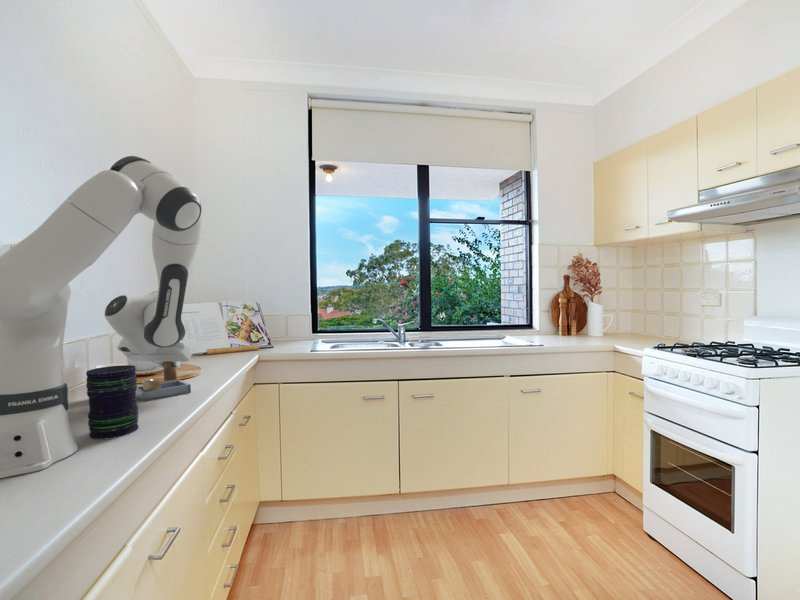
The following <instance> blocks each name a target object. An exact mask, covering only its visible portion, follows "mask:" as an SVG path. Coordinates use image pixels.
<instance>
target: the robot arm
mask: <svg viewBox="0 0 800 600" xmlns="http://www.w3.org/2000/svg"><path fill="white" fill-rule="evenodd" d="M138 214H142V215H144V216H145V217H147V218H148V219H150V220H152V221H154V222H153V227H152V233H151V234H152V235H151V248H152V255H153V261H154V265H155V271H156V275H157V281H158V284H157V285H158V290H156V291H153V292H150V293H148V294H143V295H138V296H137V295H135V296H132V295H126V294H125V295H124V294H122V295H119V296H117V297H115V298H113V299H112V300H110V302H109V303H107V305H106V307H105V310H104V319H105V320H106V321H107V323H108V324H109V325H110V327H111V328H112V329H113V330H114V331H115V332H116V333H117V334H118V335H119V336H120V337H121V340H120V342H119V344H118V345H117V347H116V349H117V350H118V351H119V352H121V353H122V354H123V355H124V356H125V358H127V359H128V360H130V361H132V362H133V363H134V362H135V363H138V362H139V363H140V362H150V363H152V364H154V365H156V366H158V367H159V368H163V361H172V362H174V363H173V364H172V365H173V366H174V367H176V368H180V366H181V365H182V364H181V362H188V361H190V359H191V357H192V355H193V350H192V348H190V346H188V345H187V344H186V343H185V342H184V341H182V340H183V339H184V338H185V336H186V329H185V325H184V321H183V315H182V314H183V309H184V308H183V307H184V301H185V295H186V289H187V283H188V281H189V278H190V274H191V271H192V270H191V269H192V266H193V263H194V259H195V257H196V254H197V250H198V246H199V244H200V243H199V242H200V238H201V233H202V223H203V209H202V203H201V199H200V198H199V196H198V195H196V193H195V192H194V191H193V190H192V189H190V188H189V187H186V186H185V185H184V184H183V183H182V182H181V181H179V180H178V179H177V178H175V177H174V176H173V175H172V174H170V173H169V172H167V171H166V170H164V169H163V168H161V167H159V166H156V165H155V164H153V163H152V162H151V161H149V160H147V159H146V158H143V157H140V156H137V155H136V156H135V155H129V156H125V157H122V158H120V159H119V160H117V161H116V162H115V163H113V164H112V165H111V167H110V169H106V170H105V169H104V170H101V171H99V172H98V173H97V174H95V175H93V176H92V177H91V178H90V177H89V179H87V180H86V181H85V182H84V183H82V184H80V186H79V187H77V188H76V189H75V190H74V191H73V192H72V193H70V195H69V196H68V197H66V199H65V200H64V201H63V202H62V203H61V204H60V205H59V206H58V207H57V208H56V209H55V210H54V211H53V213H51V214H50V216H48V217H47V218H46V220H45V221H44V222H42V224H41V225H40V226H39V227H38V228H36V229H35V230H34V231H33V232H31V233H30V234H29V235H28V236H26V237H25V238H23V239H22V240H21V241H19V242H18V243H17V244H15V245H14V246H13V247H11V248H9V249H8V250H7V251H6V252H4V253H3V254H2V255H0V479H5V478H8V477H13V476H17V475H23V474H28V473H33V472H37V471H42V470H44V469H46V468H48V467H49V466H50V465H52V464H54V463H56V462H58V461H60V460H63V459H65V458H68V457H69V456H71V455H73V454H74V453H75V452H76V451H78V448H79V446H78V444H77V442H76V439H75V436H74V434H73V431H72V428H71V423H70V419H69V413H68V410H69V406H70V395H69V394H70V393H69V388H68V384H67V383H66V382H65V369H64V368H65V365H64V338H65V331H66V327H67V326H66V325H67V318H68V317H67V316H68V306H69V304H68V303H69V300H70V297H71V287H70V284H69V283H71V282H72V281H73V280H74V279H75V278H77V277H78V276H79V275H80V274H81V273H82V272H84V271H85V270H86V269H87V268H89V267H91V266H92V265H93V264H95V262H96V261H97V260H98V259H99V258H100V257H101V256H102V255H103V254H104V252H106V251H107V249H108V248H109V247H110V246H111V245H112V244H113V242H114V241H115V240H117V238H118V237H119V236H120V234H122V232H123V231H124V230H125V229H126V228H127V226H128V225H129V224H130V222H131V221H132V219H133V218H134V217H135V216H136V215H138Z"/></svg>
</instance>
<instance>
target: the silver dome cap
mask: <svg viewBox="0 0 800 600" xmlns="http://www.w3.org/2000/svg"><path fill="white" fill-rule="evenodd" d="M153 380H154V378H145V379H142V381H141V382H142V385H143V382H146V381H153Z"/></svg>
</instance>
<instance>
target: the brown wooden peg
mask: <svg viewBox="0 0 800 600" xmlns="http://www.w3.org/2000/svg"><path fill="white" fill-rule="evenodd" d="M173 363H174V362H172V361H163V367H162V368H163V382H170V381H176V380H178V376H177V367H174V366H173V365H172V364H173Z"/></svg>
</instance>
